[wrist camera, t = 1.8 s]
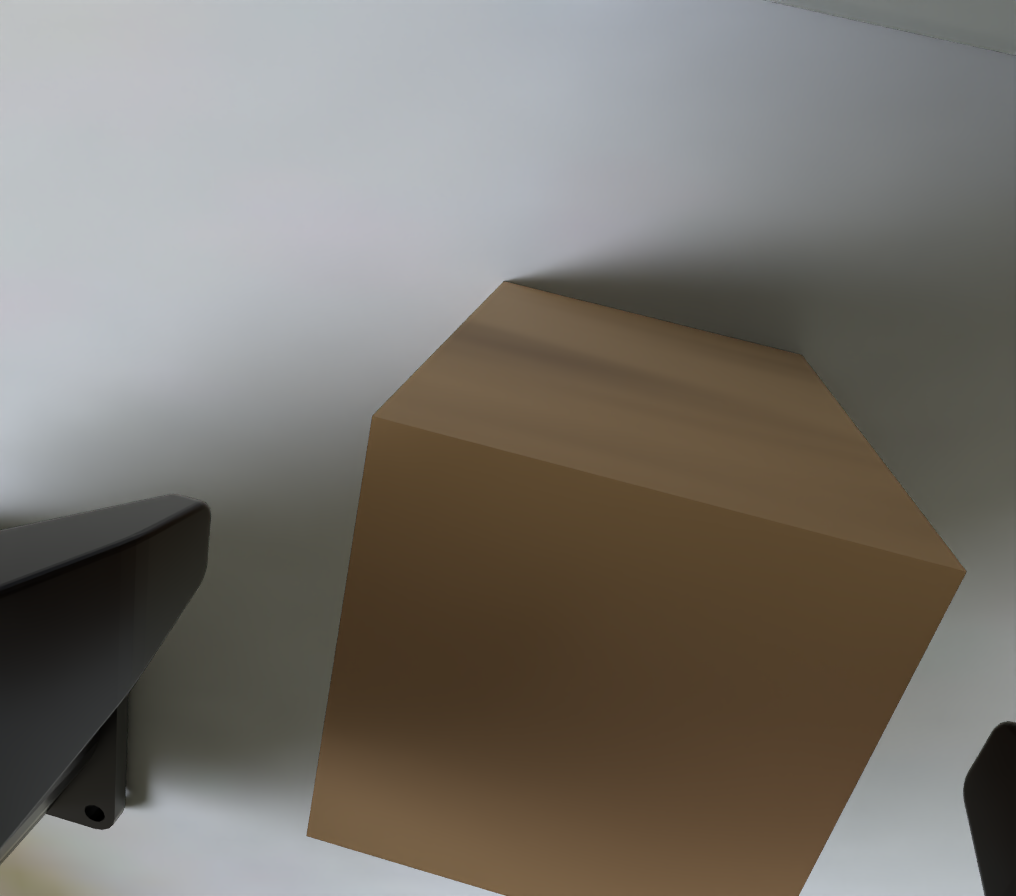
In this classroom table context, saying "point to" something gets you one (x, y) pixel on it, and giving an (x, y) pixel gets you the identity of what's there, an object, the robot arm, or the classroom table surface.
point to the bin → (931, 18)
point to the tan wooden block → (617, 611)
